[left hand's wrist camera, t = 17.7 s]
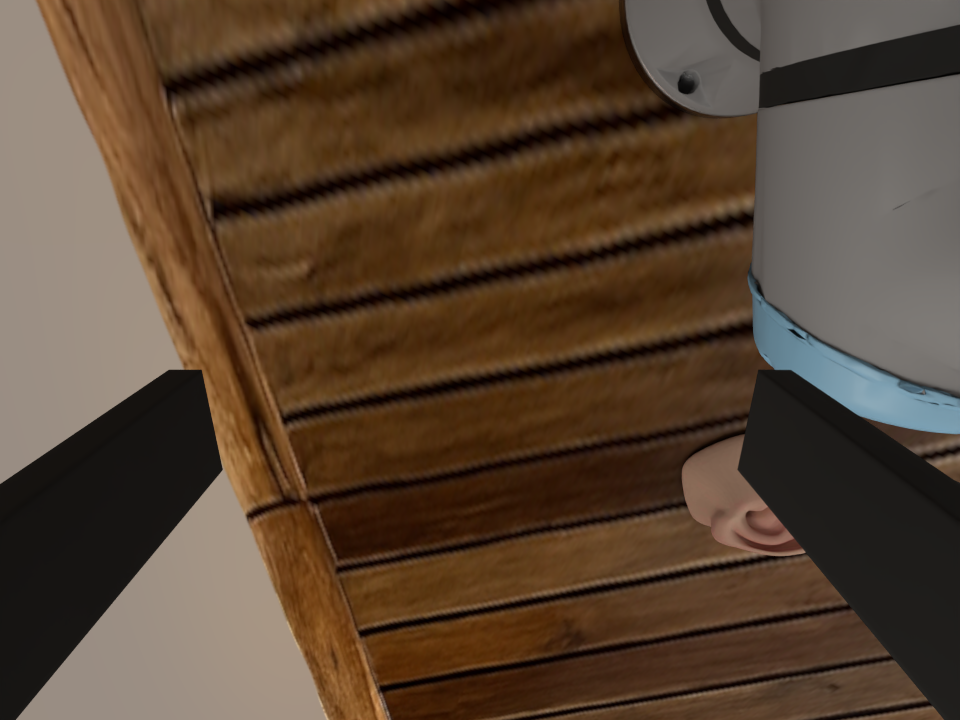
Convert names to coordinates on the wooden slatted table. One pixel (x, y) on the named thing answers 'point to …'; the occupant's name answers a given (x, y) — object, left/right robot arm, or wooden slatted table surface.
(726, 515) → the anatomical model
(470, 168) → the wooden slatted table surface
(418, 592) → the wooden slatted table surface
